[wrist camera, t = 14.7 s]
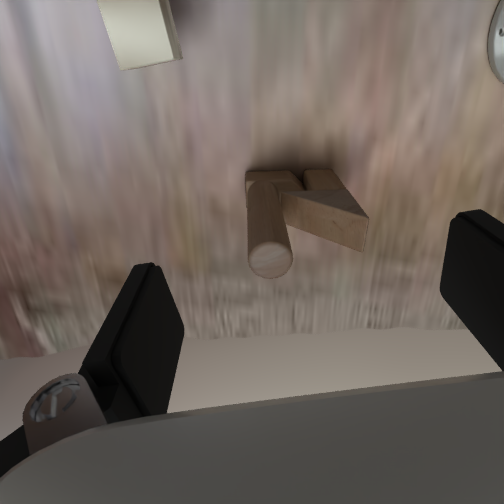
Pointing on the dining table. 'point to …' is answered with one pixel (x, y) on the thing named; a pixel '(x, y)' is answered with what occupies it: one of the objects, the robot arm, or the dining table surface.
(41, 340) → the dining table surface
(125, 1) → the birch bar
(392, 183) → the dining table surface
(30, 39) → the dining table surface
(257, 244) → the wooden block
